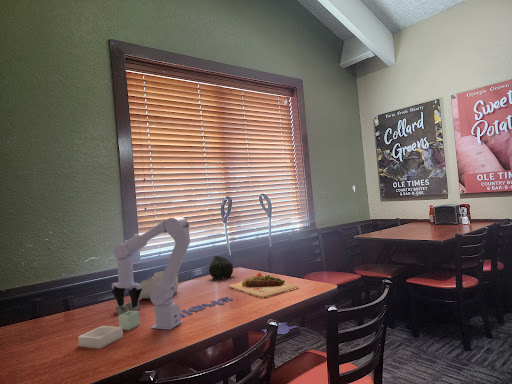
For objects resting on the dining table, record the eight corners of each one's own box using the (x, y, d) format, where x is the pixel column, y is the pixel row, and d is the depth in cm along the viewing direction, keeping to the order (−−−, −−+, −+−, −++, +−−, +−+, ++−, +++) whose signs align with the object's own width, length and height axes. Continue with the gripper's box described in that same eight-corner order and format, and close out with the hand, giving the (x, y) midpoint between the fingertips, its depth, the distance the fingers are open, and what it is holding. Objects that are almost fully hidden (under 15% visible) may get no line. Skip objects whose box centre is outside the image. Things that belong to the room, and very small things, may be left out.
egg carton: (115, 315, 156) (114, 307, 156) (116, 311, 163) (116, 303, 163) (139, 311, 159) (138, 302, 159) (139, 307, 166) (139, 298, 166)
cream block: (173, 299, 174) (171, 276, 175) (137, 302, 175) (135, 279, 175) (182, 289, 194) (180, 268, 195) (149, 292, 195) (148, 271, 195)
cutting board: (227, 288, 188) (226, 275, 188) (262, 279, 200) (261, 267, 201) (262, 300, 158) (261, 284, 158) (300, 289, 171) (299, 274, 171)
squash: (238, 269, 209) (228, 250, 218) (216, 274, 201) (207, 254, 210) (232, 281, 218) (223, 262, 227) (211, 287, 210) (203, 267, 219)
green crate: (140, 324, 139) (138, 311, 139) (129, 330, 133) (127, 316, 134) (130, 323, 141) (129, 310, 141) (119, 329, 135) (118, 315, 136)
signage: (225, 296, 168) (237, 299, 160) (226, 297, 168) (237, 301, 160) (173, 312, 150) (182, 316, 142) (173, 313, 150) (183, 318, 142)
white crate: (123, 336, 127) (122, 327, 127) (99, 348, 117) (99, 338, 117) (102, 334, 131) (102, 325, 131) (78, 346, 122) (78, 336, 122)
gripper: (104, 274, 137) (107, 308, 137) (131, 275, 131) (133, 310, 131) (118, 271, 144) (120, 302, 143) (144, 271, 138) (146, 304, 137)
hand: (127, 306), depth 137 cm, fingers open, 7 cm apart
